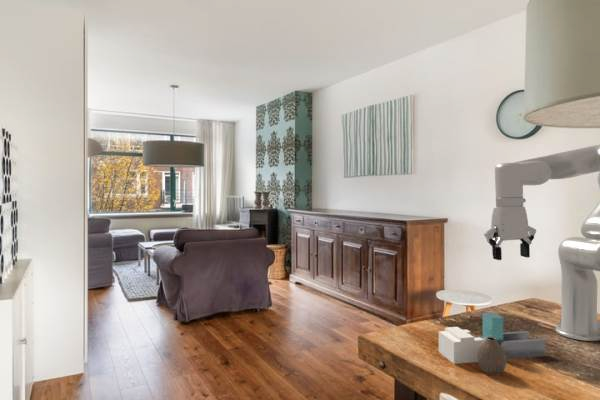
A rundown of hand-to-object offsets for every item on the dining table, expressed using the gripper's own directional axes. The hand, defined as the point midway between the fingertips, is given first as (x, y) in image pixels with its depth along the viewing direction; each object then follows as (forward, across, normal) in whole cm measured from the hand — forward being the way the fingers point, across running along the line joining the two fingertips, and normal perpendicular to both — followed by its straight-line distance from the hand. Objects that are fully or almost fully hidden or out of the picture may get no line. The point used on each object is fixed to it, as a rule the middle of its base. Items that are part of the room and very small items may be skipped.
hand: (511, 258), depth 124 cm
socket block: (+25, +22, +7) cm, 34 cm away
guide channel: (+26, +6, +7) cm, 27 cm away
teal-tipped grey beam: (+24, +18, +7) cm, 31 cm away
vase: (+26, +20, +17) cm, 37 cm away
